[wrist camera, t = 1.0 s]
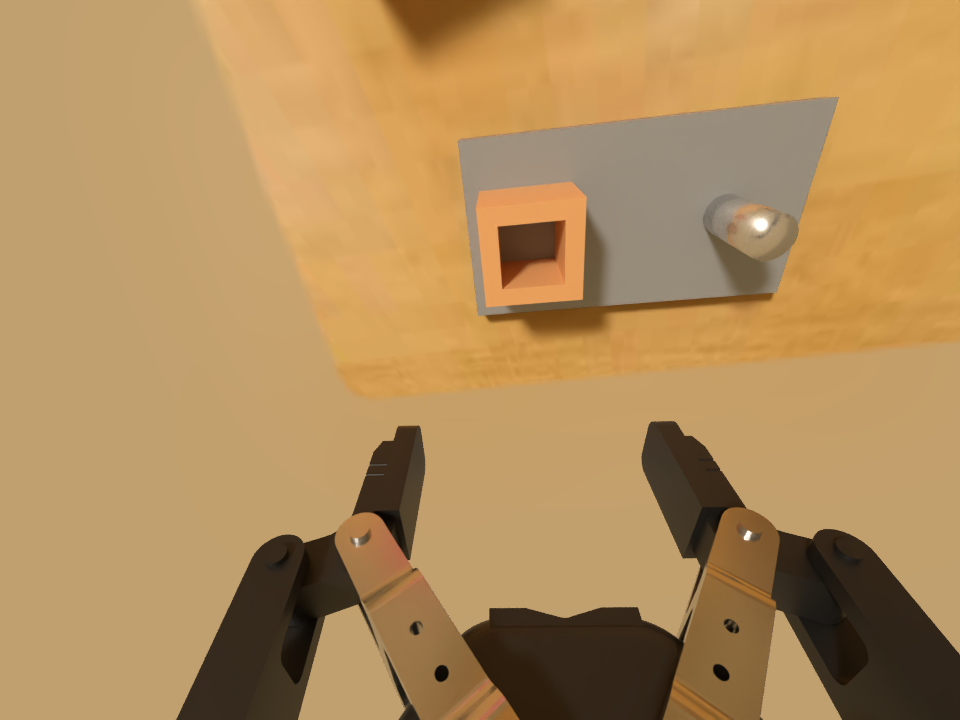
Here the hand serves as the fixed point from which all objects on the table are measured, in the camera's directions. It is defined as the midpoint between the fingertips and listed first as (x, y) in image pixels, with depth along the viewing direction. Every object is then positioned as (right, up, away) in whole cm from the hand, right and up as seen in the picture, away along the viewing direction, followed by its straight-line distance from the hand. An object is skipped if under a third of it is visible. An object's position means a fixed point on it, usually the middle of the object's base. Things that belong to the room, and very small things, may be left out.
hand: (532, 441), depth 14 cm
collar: (+1, +12, +13) cm, 18 cm away
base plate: (+8, +13, +14) cm, 21 cm away
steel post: (+14, +13, +14) cm, 24 cm away
